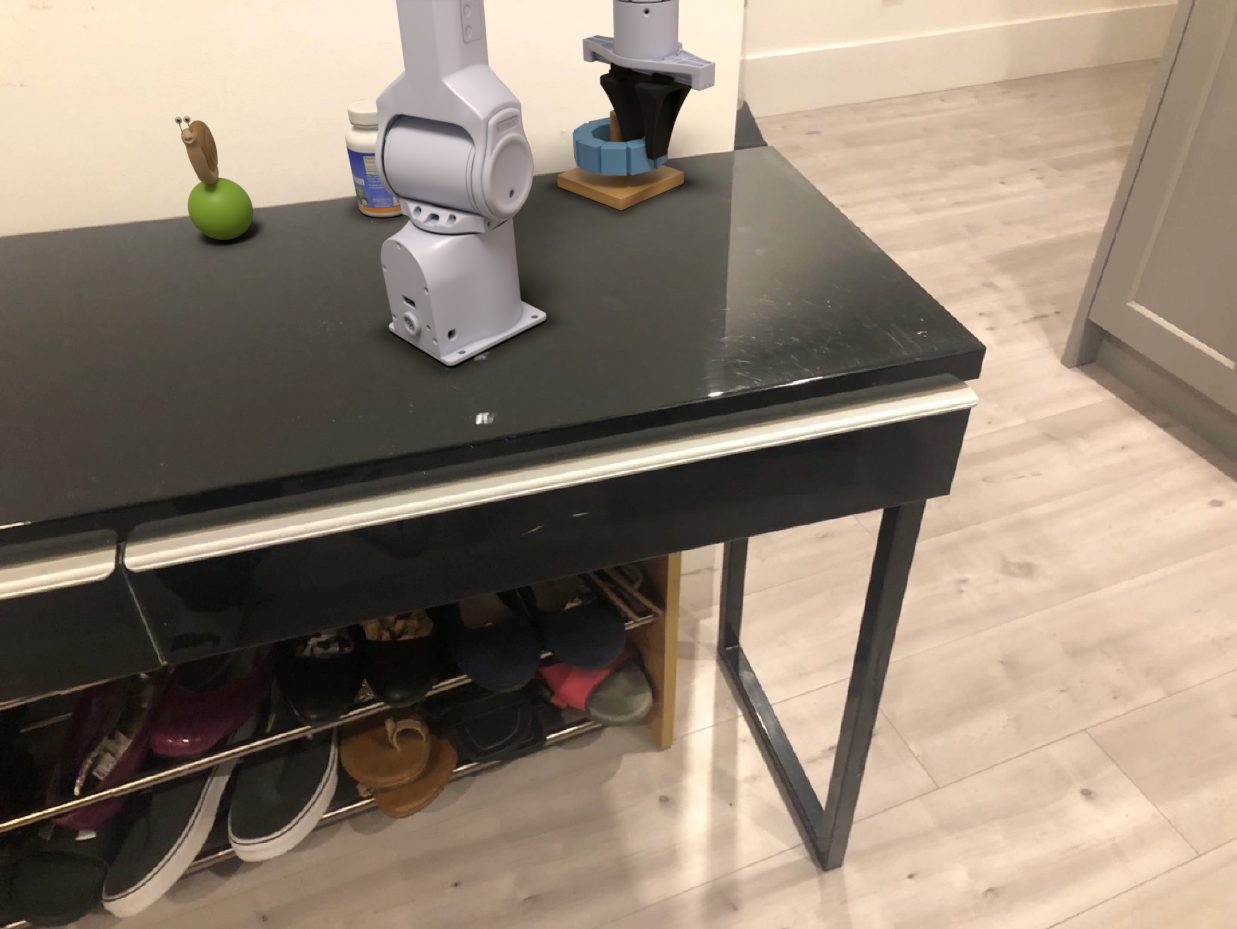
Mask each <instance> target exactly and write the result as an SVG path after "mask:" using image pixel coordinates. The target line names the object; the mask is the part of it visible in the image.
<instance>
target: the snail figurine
mask: <svg viewBox="0 0 1237 929" xmlns="http://www.w3.org/2000/svg"><path fill="white" fill-rule="evenodd" d="M182 118H183V119H182ZM182 118H181V117H180V116H176V117H175V118H174V122H175V123H176V124H178V125H179V129H180V131H181V133H180V138H181V141H182V143H183V144H184V146H185V150H186V153H187V157H188V160H189V162H190V164H191V166H192V168H193V169H192V170H194V173H195V175H196V177H197V178H198V180H199V181H200V182H198V183H197V184H196V185H195V186H194V187H193V189H192V190H191V191H190V192H189V195H188V198H187V199H188V200H187V212H188V215H189V218H190V221H191V222H192V224H193V225H194V226H195V228H196V229H197V230H198V231H199V232H200V233H202V234H203V235H205V236H207V237H209V238H211V239H215V240H220V241H229V240H233V239H236V238H238V237H241V236H242V235H243V234H244V233H246V231H247V230H248V229H249V227H250V226H251V223H252V221H253V217H254V207H253V202H252V199H251V198H250V196H249V194H248V192H247V191H246V190H245V189H244V188H243V187H242V186H241V185H239V184H238V183H237V182H235V181H233V180H231V179H228V178H224V177H220V176H219V175H220V174H219V172H220V170H219V166H218V165H219V159H218V158H219V157H218V150H217V144H216V141H215V138H214V135H213V133H212V131H211V129H210V127H209V126H208V125H207V123H205V122H204V121H202V120H198V119H197V120H192V122H191V119H192V118H191V117H190V116H189V115H184V116H183V117H182ZM182 122H184V123H186V124H187V126H188V127H186V128H184V129H183V128H182V126H181V124H182Z"/></svg>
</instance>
